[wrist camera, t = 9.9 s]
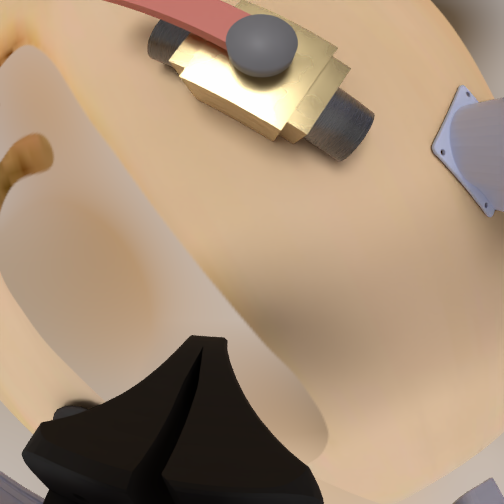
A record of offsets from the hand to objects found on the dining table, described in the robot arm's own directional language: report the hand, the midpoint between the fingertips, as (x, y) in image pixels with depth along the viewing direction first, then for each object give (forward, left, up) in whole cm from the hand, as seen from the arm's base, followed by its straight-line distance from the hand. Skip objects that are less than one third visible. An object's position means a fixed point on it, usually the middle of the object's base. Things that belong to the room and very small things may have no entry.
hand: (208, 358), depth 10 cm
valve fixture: (+5, -12, -10) cm, 17 cm away
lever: (+10, -12, -4) cm, 17 cm away
